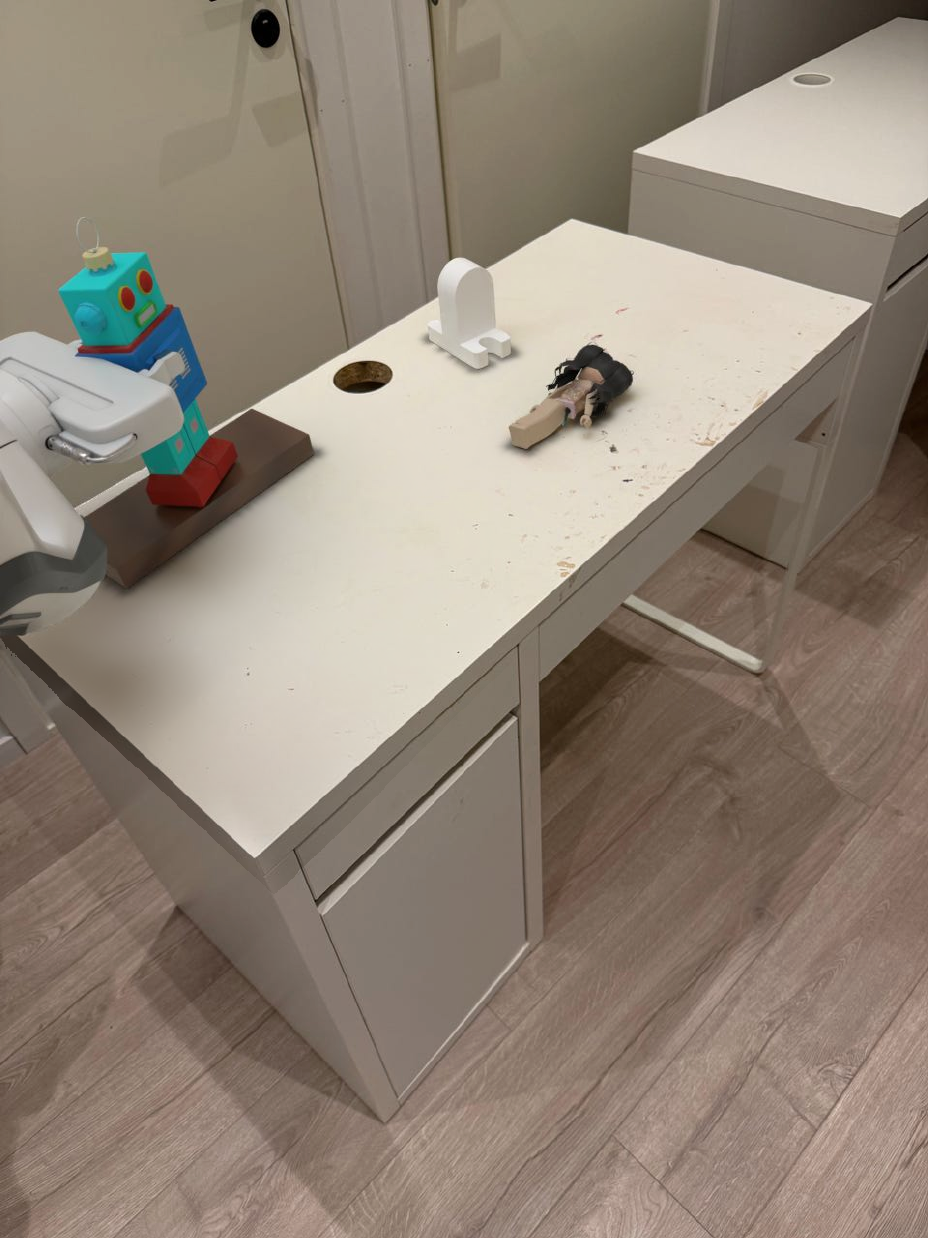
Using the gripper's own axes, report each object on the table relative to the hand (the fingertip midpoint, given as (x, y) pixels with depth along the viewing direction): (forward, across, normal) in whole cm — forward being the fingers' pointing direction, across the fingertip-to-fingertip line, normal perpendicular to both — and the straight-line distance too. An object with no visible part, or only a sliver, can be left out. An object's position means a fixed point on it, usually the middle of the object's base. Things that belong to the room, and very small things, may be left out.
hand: (149, 347), depth 77 cm
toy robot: (-1, 0, +14) cm, 14 cm away
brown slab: (-1, 0, +16) cm, 17 cm away
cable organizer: (+36, -6, +17) cm, 40 cm away
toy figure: (+29, -25, +17) cm, 42 cm away
